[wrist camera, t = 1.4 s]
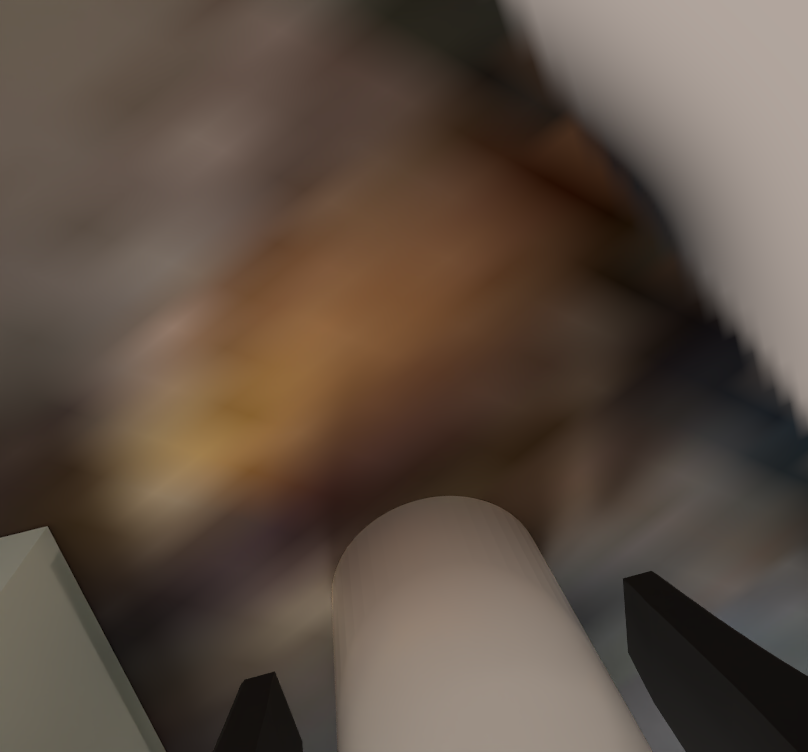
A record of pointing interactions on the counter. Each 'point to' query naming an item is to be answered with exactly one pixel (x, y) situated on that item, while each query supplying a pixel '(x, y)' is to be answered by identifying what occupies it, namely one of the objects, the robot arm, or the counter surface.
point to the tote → (59, 661)
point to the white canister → (464, 641)
